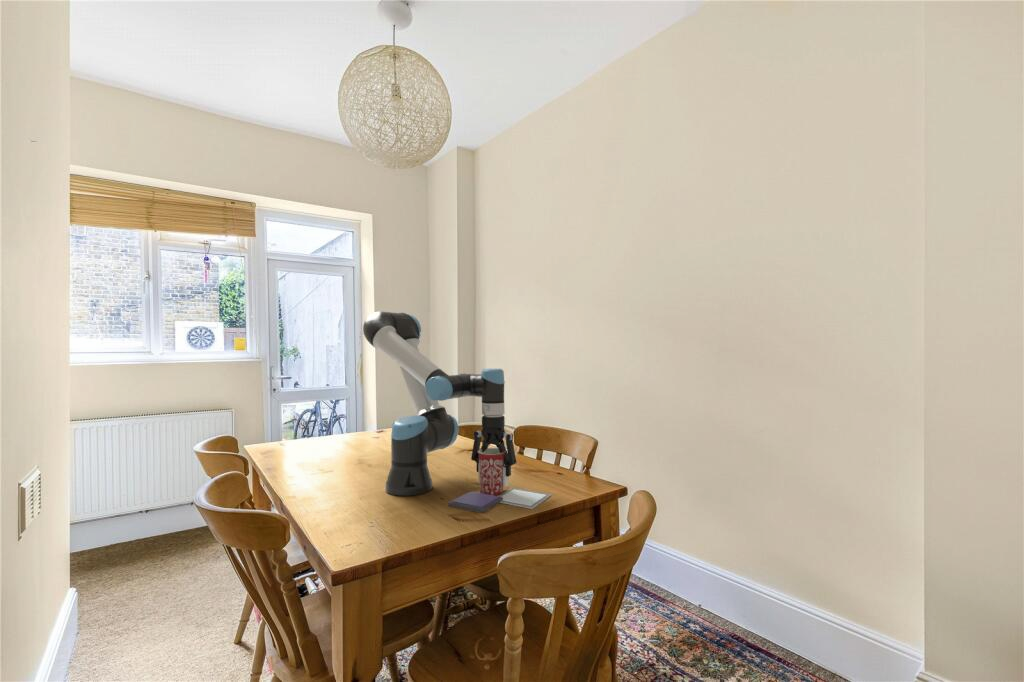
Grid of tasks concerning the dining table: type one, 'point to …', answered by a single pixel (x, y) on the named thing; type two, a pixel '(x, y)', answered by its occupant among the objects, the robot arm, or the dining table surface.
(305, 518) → the dining table surface
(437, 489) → the dining table surface
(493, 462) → the mug
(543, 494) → the print card
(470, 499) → the ink pad
